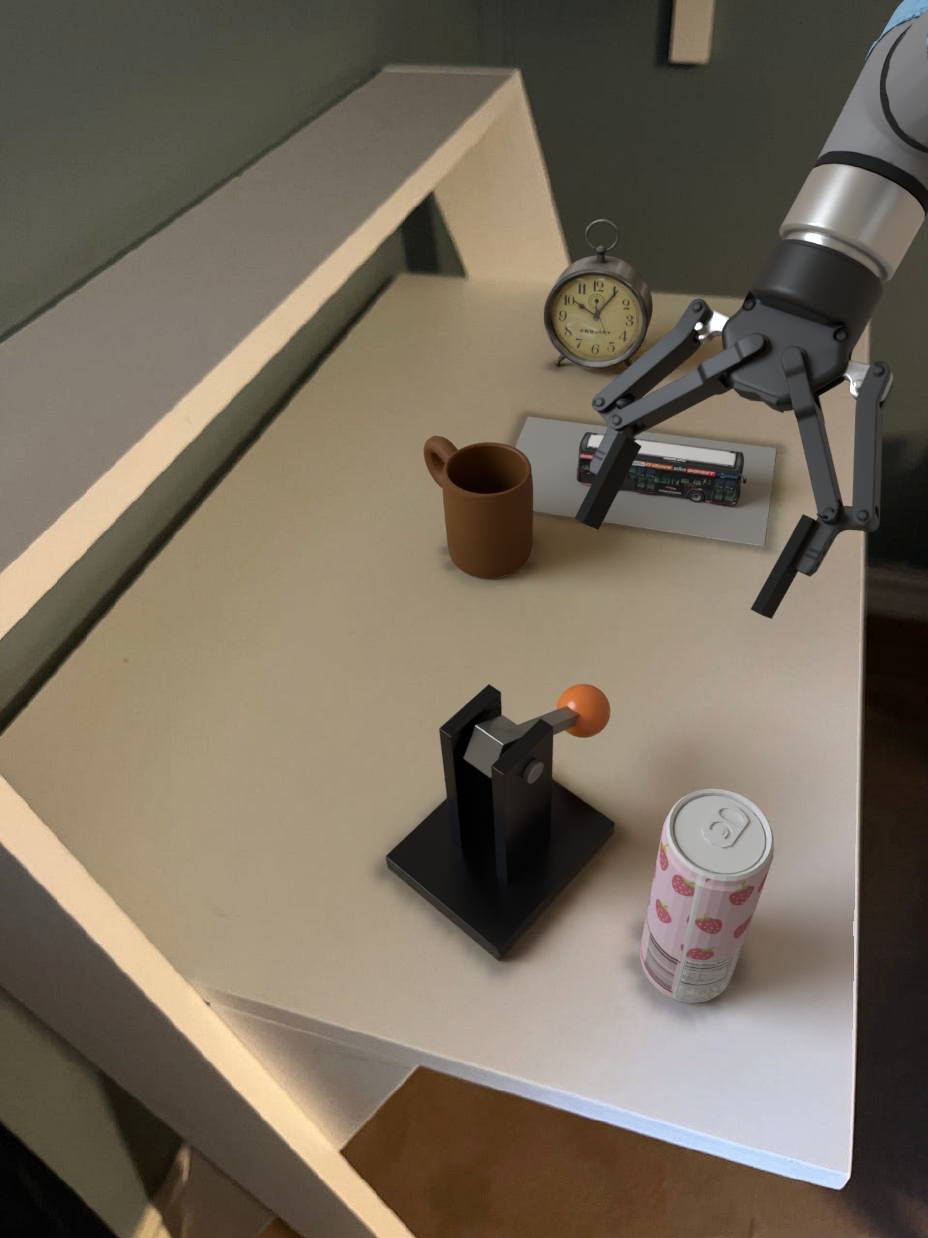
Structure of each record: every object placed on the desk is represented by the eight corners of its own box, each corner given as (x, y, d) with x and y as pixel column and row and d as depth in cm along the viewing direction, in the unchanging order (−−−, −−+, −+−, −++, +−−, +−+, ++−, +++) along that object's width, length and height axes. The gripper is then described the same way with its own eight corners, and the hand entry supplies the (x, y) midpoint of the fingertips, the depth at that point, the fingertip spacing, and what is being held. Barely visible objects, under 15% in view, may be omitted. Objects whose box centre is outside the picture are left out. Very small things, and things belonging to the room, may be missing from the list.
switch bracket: (503, 756, 71) (498, 628, 61) (614, 834, 66) (629, 708, 56) (387, 867, 65) (361, 746, 55) (499, 962, 60) (492, 848, 50)
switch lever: (567, 713, 68) (584, 670, 66) (608, 741, 66) (627, 696, 64) (451, 760, 57) (469, 709, 56) (496, 794, 55) (516, 742, 54)
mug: (400, 528, 89) (390, 444, 82) (463, 491, 92) (458, 408, 85) (486, 595, 82) (482, 510, 76) (550, 553, 86) (552, 468, 79)
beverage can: (736, 927, 61) (780, 794, 50) (729, 1015, 57) (775, 893, 46) (645, 908, 62) (669, 774, 51) (633, 993, 58) (656, 869, 47)
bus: (764, 546, 85) (772, 509, 82) (490, 504, 91) (489, 468, 88) (776, 448, 94) (784, 412, 91) (528, 416, 100) (527, 381, 97)
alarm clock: (542, 372, 106) (543, 226, 94) (553, 346, 109) (556, 203, 97) (641, 384, 103) (655, 235, 91) (649, 357, 107) (664, 211, 95)
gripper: (1037, 347, 57) (856, 661, 61) (679, 236, 69) (546, 502, 73) (1037, 299, 51) (834, 653, 54) (642, 186, 63) (498, 481, 66)
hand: (668, 567), depth 64 cm, fingers open, 13 cm apart
